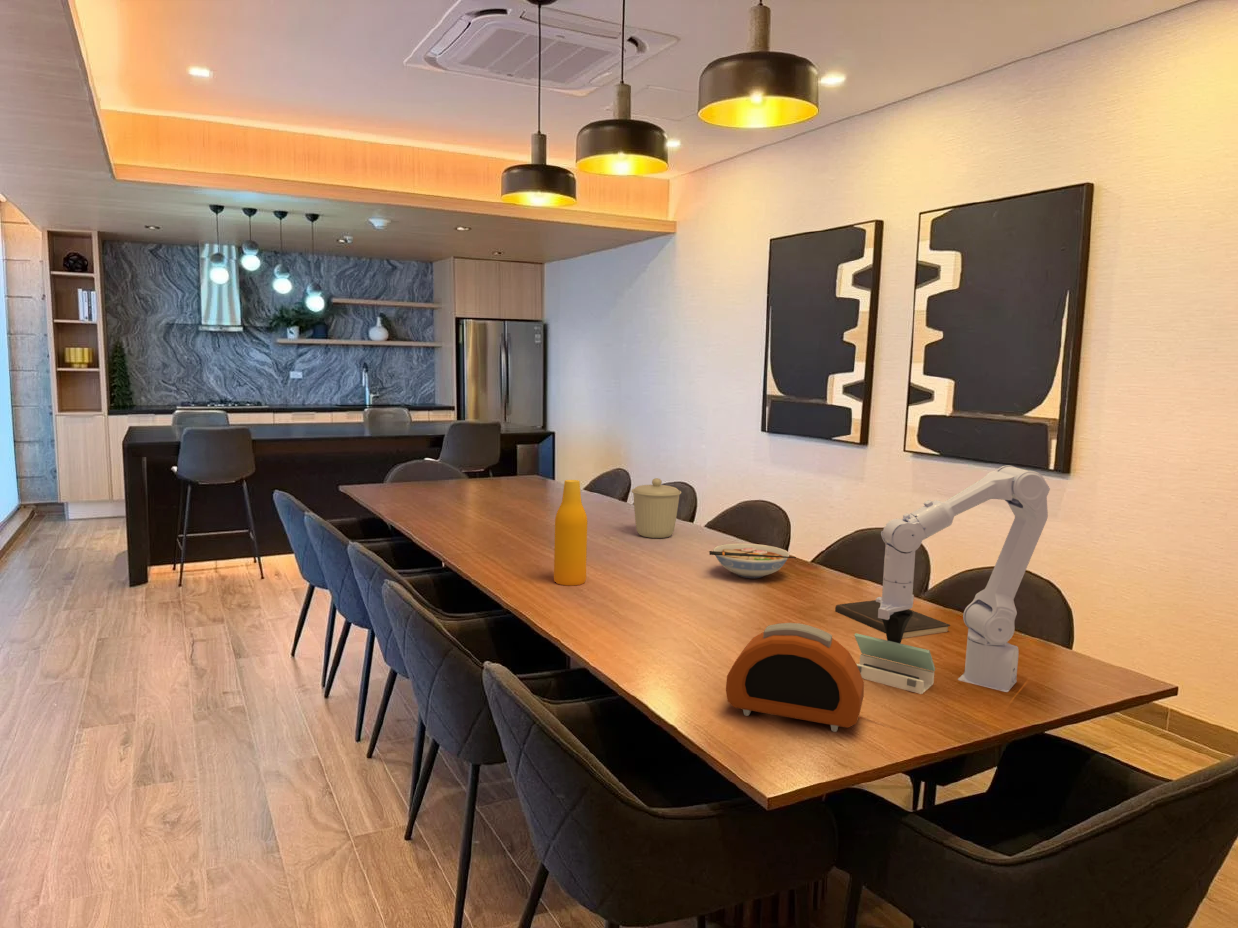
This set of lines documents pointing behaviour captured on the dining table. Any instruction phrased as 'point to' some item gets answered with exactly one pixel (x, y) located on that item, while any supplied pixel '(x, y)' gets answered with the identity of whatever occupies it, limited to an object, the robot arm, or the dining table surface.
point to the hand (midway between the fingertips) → (893, 645)
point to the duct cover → (895, 652)
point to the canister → (655, 509)
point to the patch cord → (891, 671)
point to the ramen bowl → (750, 559)
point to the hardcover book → (869, 616)
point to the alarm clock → (797, 677)
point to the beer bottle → (570, 537)
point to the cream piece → (895, 679)
